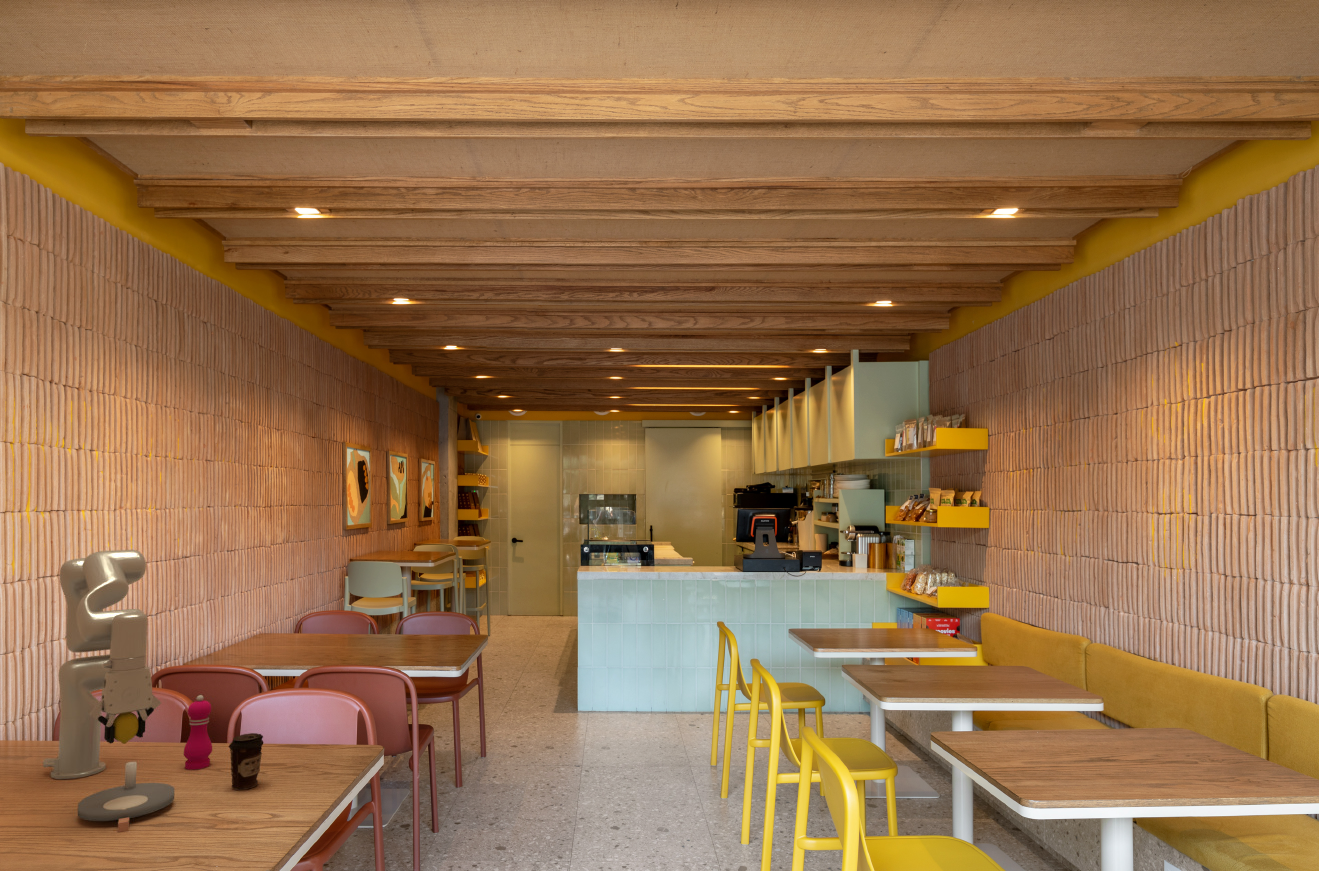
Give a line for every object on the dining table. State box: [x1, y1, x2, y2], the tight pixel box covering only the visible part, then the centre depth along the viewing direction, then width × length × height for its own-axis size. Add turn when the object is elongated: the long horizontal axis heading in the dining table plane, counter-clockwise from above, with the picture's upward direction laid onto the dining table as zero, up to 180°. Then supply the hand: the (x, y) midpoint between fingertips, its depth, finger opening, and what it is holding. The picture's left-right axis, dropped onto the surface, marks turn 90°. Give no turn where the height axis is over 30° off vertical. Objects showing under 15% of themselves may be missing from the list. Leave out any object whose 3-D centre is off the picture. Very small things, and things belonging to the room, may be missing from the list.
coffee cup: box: [228, 732, 264, 791], centre depth 222 cm, size 9×8×13 cm
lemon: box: [113, 712, 139, 745], centre depth 203 cm, size 6×6×8 cm
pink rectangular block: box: [117, 817, 130, 833], centre depth 193 cm, size 3×2×2 cm, turn 29°
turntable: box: [77, 761, 176, 822], centre depth 204 cm, size 20×20×8 cm
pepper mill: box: [183, 694, 213, 771], centre depth 239 cm, size 7×7×20 cm
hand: (124, 738), depth 203 cm, fingers closed on lemon, 5 cm apart
